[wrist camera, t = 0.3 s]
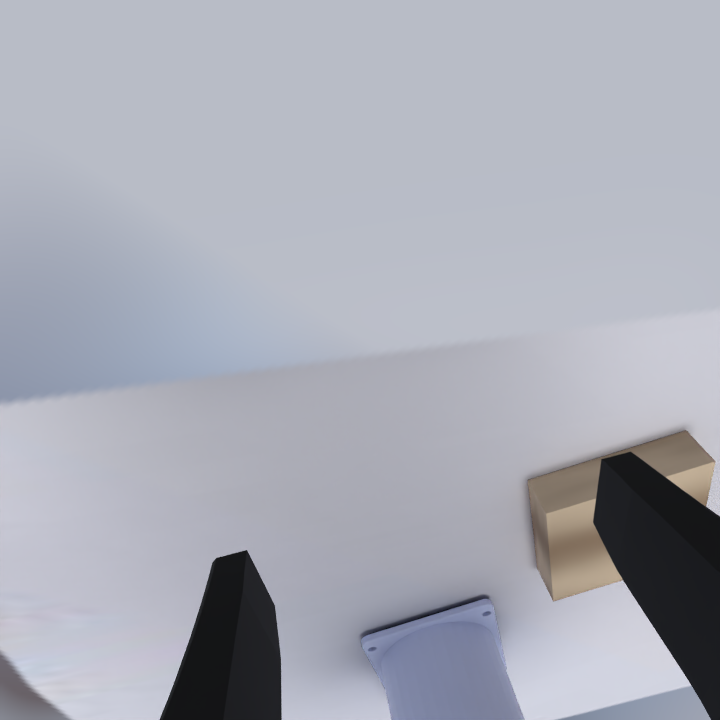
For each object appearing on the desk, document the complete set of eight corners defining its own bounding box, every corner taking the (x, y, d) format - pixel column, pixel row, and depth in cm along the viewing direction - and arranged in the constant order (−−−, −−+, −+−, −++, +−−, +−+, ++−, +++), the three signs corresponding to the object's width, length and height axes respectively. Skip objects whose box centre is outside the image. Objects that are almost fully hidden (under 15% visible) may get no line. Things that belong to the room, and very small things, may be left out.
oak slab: (667, 520, 32) (695, 557, 30) (533, 561, 32) (553, 601, 30) (680, 424, 27) (715, 461, 25) (523, 473, 27) (546, 513, 25)
